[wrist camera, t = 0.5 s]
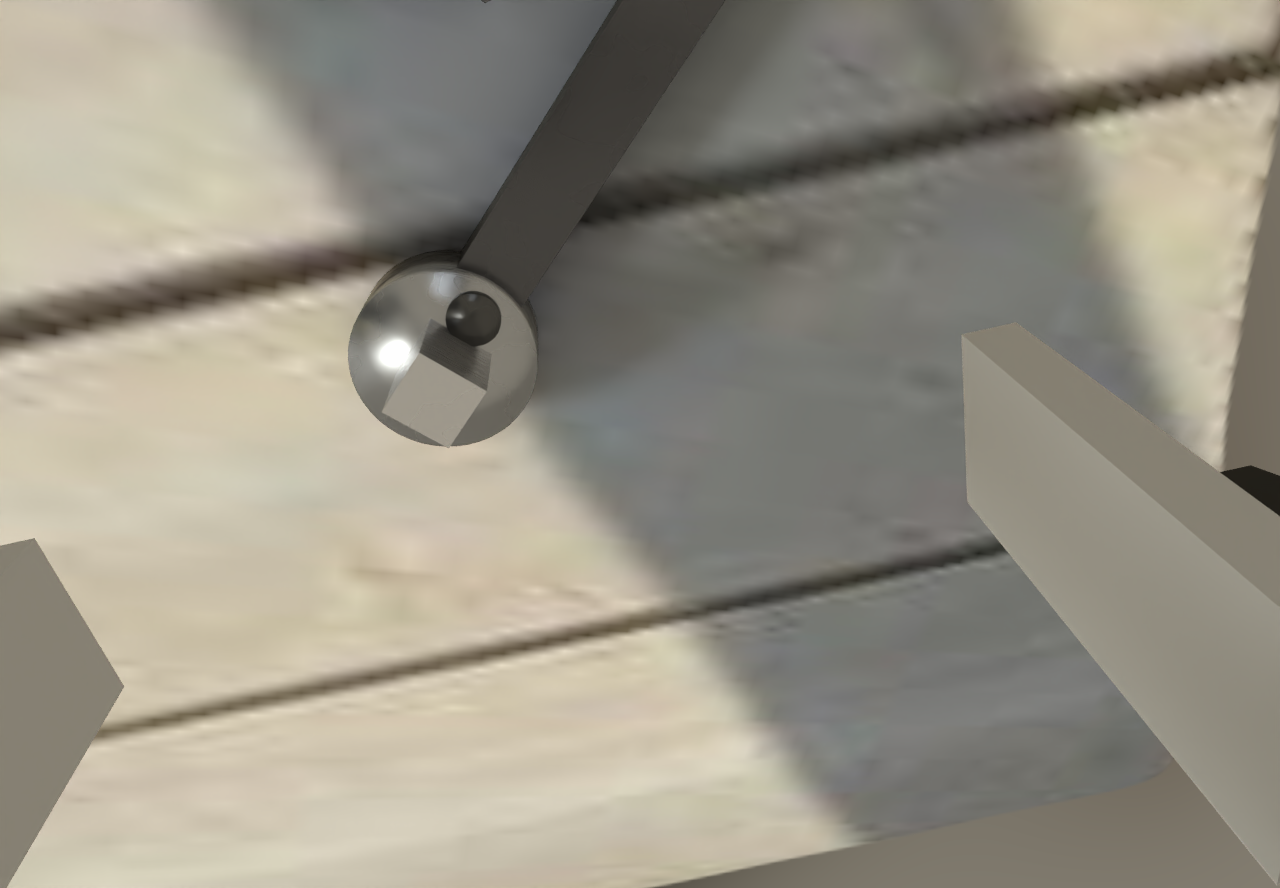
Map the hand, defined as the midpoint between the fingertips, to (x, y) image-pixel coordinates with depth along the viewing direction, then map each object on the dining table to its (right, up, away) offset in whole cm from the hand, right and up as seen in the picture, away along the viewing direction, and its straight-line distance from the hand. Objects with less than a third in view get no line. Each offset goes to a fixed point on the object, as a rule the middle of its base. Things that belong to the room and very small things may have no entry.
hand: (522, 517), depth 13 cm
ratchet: (-2, +11, +22) cm, 25 cm away
